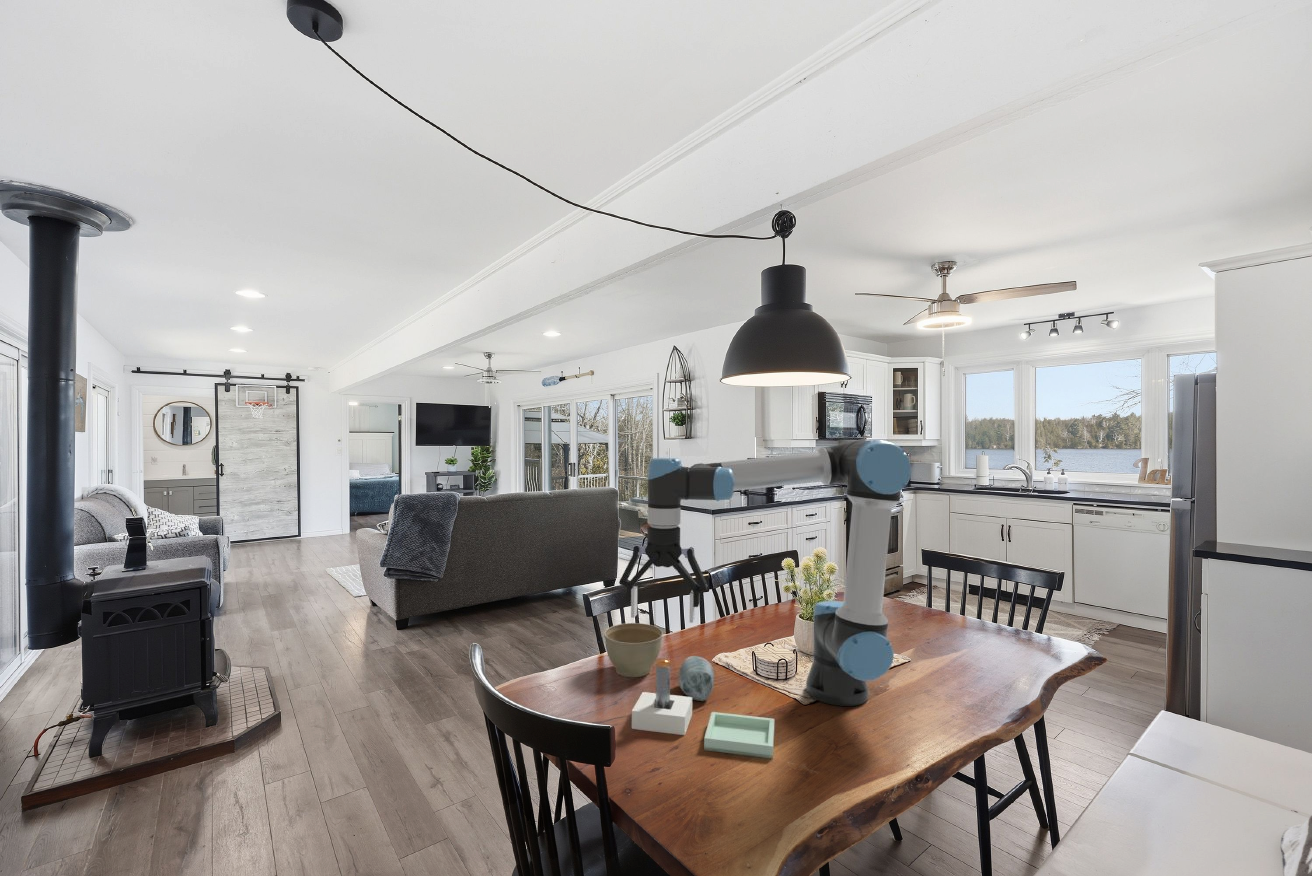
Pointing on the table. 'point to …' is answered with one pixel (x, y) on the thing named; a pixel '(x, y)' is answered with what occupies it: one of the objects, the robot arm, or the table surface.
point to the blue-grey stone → (696, 678)
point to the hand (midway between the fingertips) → (662, 618)
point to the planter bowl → (633, 647)
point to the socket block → (662, 714)
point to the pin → (663, 683)
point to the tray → (740, 735)
